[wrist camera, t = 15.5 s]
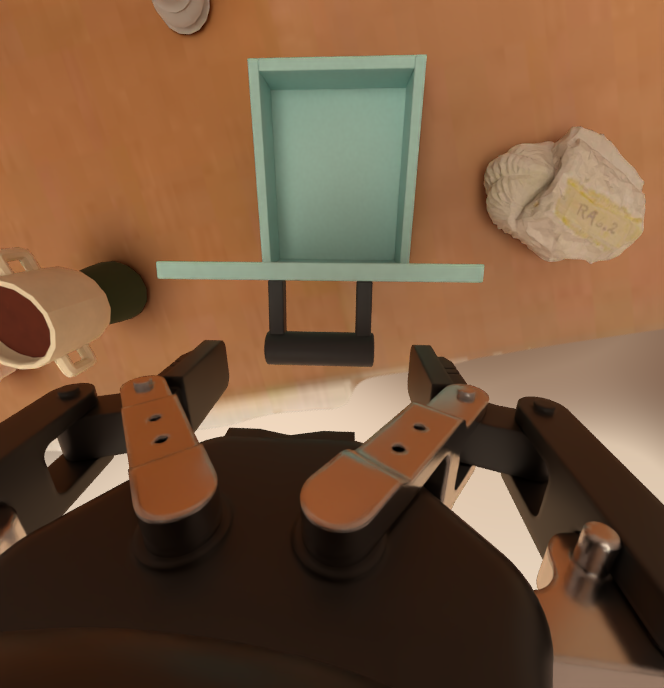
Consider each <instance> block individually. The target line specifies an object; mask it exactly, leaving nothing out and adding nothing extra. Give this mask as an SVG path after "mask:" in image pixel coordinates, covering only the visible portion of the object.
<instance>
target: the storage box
mask: <svg viewBox="0 0 664 688" xmlns="http://www.w3.org/2000/svg"><path fill="white" fill-rule="evenodd" d="M426 60H427V55H416V56H415V55H385V56H338V57H291V58H248V60H247V61H248V74H249V88H250V101H251V115H252V128H253V142H254V155H255V169H256V182H257V196H258V209H259V223H260V236H261V250H262V262H308V263H409V257H410V246H411V234H412V222H413V211H414V199H415V187H416V176H417V164H418V153H419V141H420V129H421V118H422V106H423V95H424V83H425V71H426Z"/></svg>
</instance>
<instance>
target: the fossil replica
mask: <svg viewBox="0 0 664 688" xmlns="http://www.w3.org/2000/svg"><path fill="white" fill-rule="evenodd" d="M484 178H485V179H484V187H485V188H486V191H485V192H486V194H487V196H488V197H487V199H486V204H487V211H488V212H489V216H490V218H491V219H492V222H493V224H496V225H497V227H498V229H502V230H503V231H504V233H509V234H511V235H512V237H513V238H518V239H520V241H521V243H522V244H526V245H527V248H528V249H530V250H532V251H534V253H535V254H536V255H538V256H539V257H540V258H541V259H543V260H545V261H549V262H555V261H560V260H564V259H583V260H586V261H587V262H589V263H590V264H592V263H593V262H597V261H604V260H610V259H613V258H615V257H617V256H619V255H620V254H621V253H622V252H623V251H624V250H625V249H626V248H628V247H629V246H630V245H632V244H633V243H634V242H635V240H637V239H638V238H639V237H640V236H641V234H642V232H643V230H644V226H643V221H644V214H645V203H646V200H645V194H643V193H642V187H643V184H644V181H643V180H642V179H641V178H640V177H639V175H638V173H637V171H636V170H635V168H634V167H633V166H631V165H630V164H629V163H628V162H627V161H626V160H625V159H624V158H623V157H622V155H621V154H620V153H619V151H618V150H617V148H616V147H615V146H614V145H613V144H612V142H611V141H610V140H607V138H606V137H605V136H604V134H598V133H596V132H594V131H593V130H589V129H585V128H583V127H581V126H579V127H572V128H571V129H570V130H569V131H568V132H567V133H566V135H564V136H563V137H562V138H561V139H560V140H558V141H557V142H556V143H553V142H551V141H546V142H543V143H535V144H529V143H526V144H518V145H516V146H513V147H512V148H510V149H509V151H508V152H507V153H505V154H503V155H499V156H498V158H496V159H494V160H492V161H491V162H490V163H489V165H488V167H487V170H486V172H485V174H484Z"/></svg>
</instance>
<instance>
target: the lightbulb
mask: <svg viewBox="0 0 664 688" xmlns="http://www.w3.org/2000/svg"><path fill="white" fill-rule="evenodd" d="M16 369H17V368H13V367H9V366H5V365H2V364H1V363H0V381H1V380H2V378H4V377H6V376H8V375H9V374H11V373H13V372H15V371H16Z"/></svg>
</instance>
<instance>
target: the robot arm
mask: <svg viewBox="0 0 664 688" xmlns="http://www.w3.org/2000/svg"><path fill="white" fill-rule="evenodd" d="M228 382H229V370H228V362H227V354H226V347H225V343H224V342H223V341H218V340H205V341H203V342H202V343H201V344H200V345H198V346H197V347H196V348H195V349H194V350H193V351H190V352H188V353H186V354H184V355H181V356H180V357H179V358H178V359H177V360H175V362H173V363H172V364H171V365H170V366H168V367H167V368H166V369H164V370H163V371H162V372H161V373H160V374H158V375H157V376H156V375H151V376H143V377H139V378H135V379H132V380H130V381H128V382H126V383H125V384H123V385H122V386H121V388H120V393H119V394H112V395H104V396H97V393H96V390H95V386H94V385H92V384H89V383H78V384H71V385H66V386H63V387H60V388H58V389H55V390H53V391H51V392H49V393H47V394H46V395H44V396H43V397H41V398H39V399H38V400H36V401H35V402H33V403H32V404H30V405H28V406H27V407H25V408H24V409H22V410H20V411H19V412H17V413H16V414H14V415H12V416H11V417H9V418H8V419H6V420H5V421H3V422H1V423H0V688H664V505H663V504H662V503H661V502H660V501H659V500H658V499H657V498H656V497H655V496H654V495H653V494H652V493H651V492H650V491H649V490H648V489H647V488H646V487H645V486H644V485H643V484H642V483H641V482H640V481H639V480H638V479H637V478H636V477H635V476H634V475H633V474H632V473H631V472H630V471H629V470H628V469H627V468H626V467H625V466H624V465H623V464H622V463H621V462H620V461H619V460H618V459H617V458H616V457H615V456H614V455H613V454H612V453H611V452H610V451H609V450H608V449H607V448H606V447H605V446H604V445H603V444H602V443H601V442H600V441H599V440H598V439H597V438H596V437H595V436H594V435H593V434H592V433H591V432H590V431H589V430H588V429H587V428H586V427H585V426H584V425H583V424H582V423H581V422H580V421H579V420H578V419H577V418H576V417H575V416H574V415H573V414H572V413H571V412H570V411H569V410H568V409H566V408H565V407H564V406H562V405H560V404H559V403H556V402H554V401H551V400H548V399H545V398H540V397H523V398H521V399H519V400H518V404H517V407H516V409H514V408H508V407H503V406H498V405H494V404H491V403H488V402H489V396H488V394H487V393H486V392H485V391H483V390H481V389H480V388H477V387H475V386H471V385H467V383H466V382H465V380H464V379H463V377H462V376H461V375H460V374H459V372H458V370H457V369H456V367H455V366H454V364H453V363H452V362H451V361H449V360H448V359H446V358H444V357H437V355H436V354H435V352H434V350H433V349H432V347H431V346H430V345H412V347H411V352H410V362H409V373H408V393H409V396H410V400H411V404H409V405H408V406H407V407H406V408H405V409H403V410H402V411H401V412H400V413H399V414H398V415H397V416H395V417H394V418H393V419H392V420H391V421H389V422H388V423H387V424H386V425H385V426H383V427H382V428H381V429H380V430H379V431H378V432H376V433H375V434H374V435H373V436H372V437H370V438H369V439H368V440H367V441H366V442H365V443H361V442H357V441H355V436H354V435H355V434H354V432H334V431H333V432H332V431H320V432H313V433H305V434H297V435H286V434H281V433H276V432H271V431H267V430H262V429H248V428H229V429H228V431H227V433H226V434H225V436H223V437H217V438H213V439H209V440H205V441H203V442H200V443H199V442H198V440H197V438H196V436H195V434H194V432H195V431H196V430H197V428H198V427H199V426H200V424H201V423H202V421H203V420H204V419H205V417H206V416H207V414H208V413H209V412H210V410H211V409H212V408H213V406H214V405H215V403H216V402H217V401H218V399H219V398H220V397H221V395H222V394H223V392H224V391H225V390H226V388H227V386H228ZM56 438H58V441H59V444H60V447H61V449H62V452H63V454H62V455H61V456H60V457H59V458H58V459H56V460H55V461H54V462H53V463H52V464H51V465H50V466H49V467H47V466H46V463H45V460H44V453H45V450H46V448H47V446H48V445H49V444H50V443H51V442H52V441H53V440H54V439H56ZM124 453H127V455H128V462H129V469H128V472H129V480H128V481H126V482H124V483H122V484H120V485H118V486H116V487H115V488H113V489H111V490H109V491H107V492H106V493H104V494H102V495H100V496H98V497H96V498H94V499H92V500H90V501H89V502H87V503H85V504H83V505H82V506H79V507H77V508H76V509H74V510H72V511H70V512H68V513H67V514H65V515H63V514H64V513H65V512H66V511H67V510H68V508H69V507H70V506H71V505H72V504H73V503H74V502H75V501H76V500H77V498H78V497H79V496H80V495H81V494H82V493H83V492H84V491H85V490H86V488H87V487H88V486H89V485H90V484H91V483H92V482H93V480H94V479H95V478H96V477H97V476H98V475H99V474H100V473H101V471H102V470H103V469H104V468H105V467H106V466H107V465H108V464H109V463H110V461H111V460H112V459H113V457H114V455H118V454H124ZM475 466H477V467H481V468H485V469H489V470H493V471H497V472H500V473H501V476H502V478H503V480H504V482H505V484H506V486H507V488H508V490H509V493H510V495H511V496H512V499H513V500H514V503H515V505H516V507H517V509H518V511H519V513H520V515H521V517H522V519H523V521H524V523H525V525H526V527H527V529H528V531H529V533H530V535H531V537H532V539H533V541H534V543H535V545H536V547H537V549H538V551H539V553H540V555H541V557H542V559H543V561H542V564H541V567H540V570H539V573H538V576H537V588H538V590H533V589H532V587H531V585H530V584H529V583H528V581H527V580H526V579H525V577H524V576H523V574H522V573H521V572H520V571H519V570H518V569H517V567H516V566H515V565H514V564H513V563H512V562H511V561H510V560H509V559H508V558H507V557H506V556H505V555H504V554H502V553H501V552H500V551H499V550H498V549H497V548H495V547H494V546H493V545H492V544H491V543H490V542H488V541H487V540H486V539H485V538H484V537H482V536H481V535H480V534H479V533H478V532H476V531H475V530H474V529H473V528H472V527H471V526H469V525H468V524H467V523H466V522H465V521H464V520H462V519H461V518H460V517H459V516H458V515H456V514H455V513H454V512H453V511H452V510H451V509H452V507H453V505H454V503H455V500H456V499H457V498H458V496H459V494H460V493H461V491H462V489H463V488H464V486H465V485H466V483H467V481H468V480H469V478H470V476H471V475H472V473H473V472H474V470H475ZM62 515H63V516H62Z"/></svg>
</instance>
